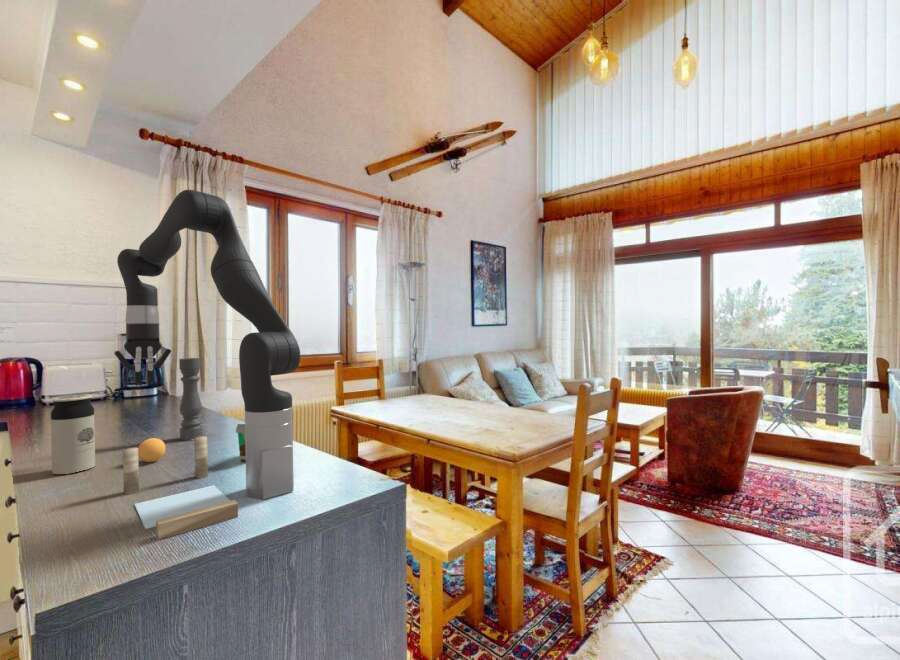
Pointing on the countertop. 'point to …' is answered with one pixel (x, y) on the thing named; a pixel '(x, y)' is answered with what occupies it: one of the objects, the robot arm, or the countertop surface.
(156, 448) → the ball
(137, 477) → the left post
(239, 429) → the food container
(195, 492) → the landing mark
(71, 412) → the travel mug
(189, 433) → the candle holder
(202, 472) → the right post
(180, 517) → the wall
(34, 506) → the countertop surface
